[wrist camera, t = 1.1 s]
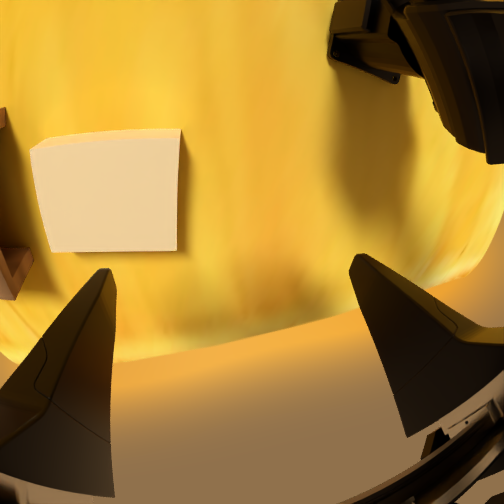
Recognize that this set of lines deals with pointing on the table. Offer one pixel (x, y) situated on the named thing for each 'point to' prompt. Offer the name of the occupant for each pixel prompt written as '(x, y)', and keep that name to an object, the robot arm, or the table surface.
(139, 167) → the beige block
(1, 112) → the wood grain block
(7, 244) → the table surface
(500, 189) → the table surface
